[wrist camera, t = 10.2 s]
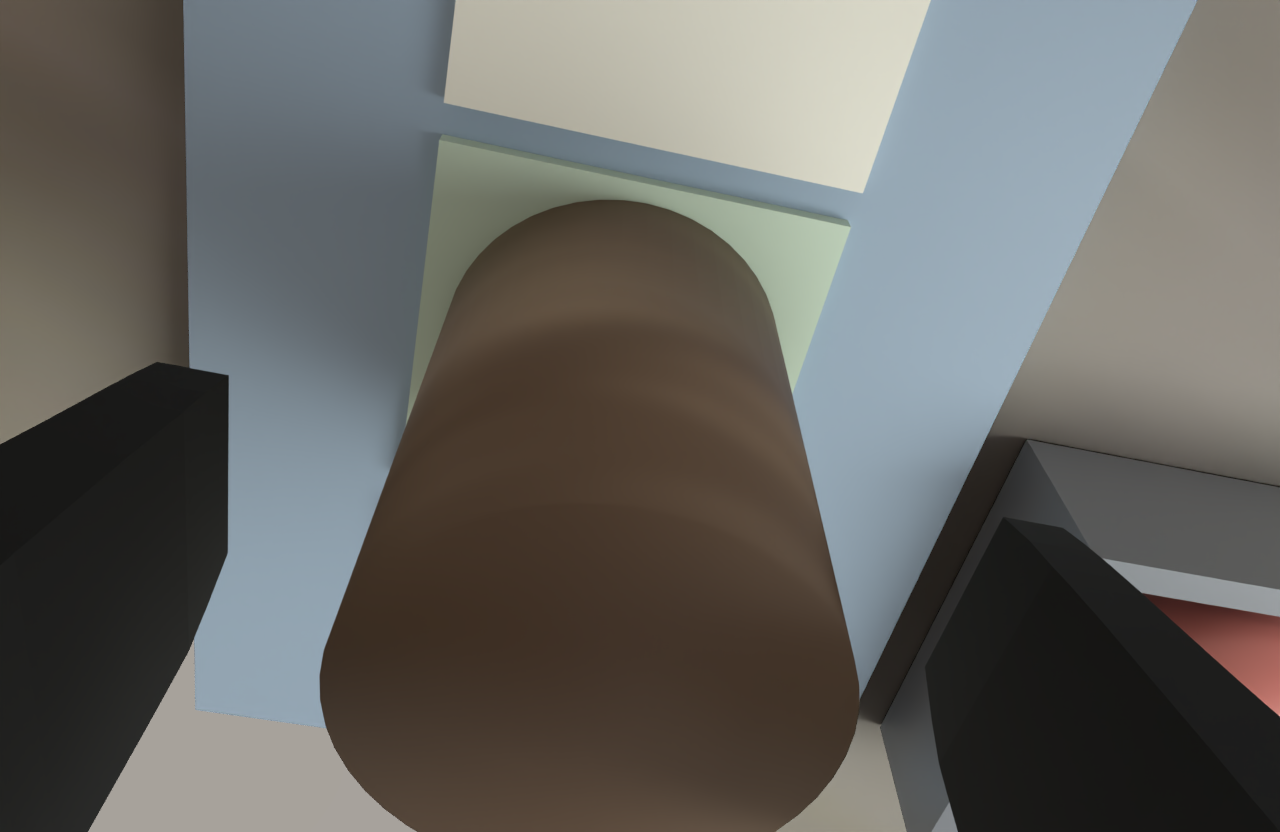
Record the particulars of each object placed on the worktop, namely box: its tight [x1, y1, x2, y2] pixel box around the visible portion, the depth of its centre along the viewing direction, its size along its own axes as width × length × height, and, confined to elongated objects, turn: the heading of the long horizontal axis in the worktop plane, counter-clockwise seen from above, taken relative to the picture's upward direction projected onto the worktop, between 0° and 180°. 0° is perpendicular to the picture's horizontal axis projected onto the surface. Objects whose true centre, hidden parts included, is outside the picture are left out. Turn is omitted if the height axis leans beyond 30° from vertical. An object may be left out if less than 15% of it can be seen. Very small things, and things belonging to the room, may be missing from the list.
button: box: [1142, 593, 1280, 716], centre depth 15 cm, size 4×4×2 cm
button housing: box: [880, 440, 1280, 832], centre depth 15 cm, size 6×6×2 cm
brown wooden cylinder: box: [319, 200, 859, 832], centre depth 10 cm, size 4×4×6 cm
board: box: [183, 0, 1197, 728], centre depth 11 cm, size 10×20×1 cm, turn 167°
